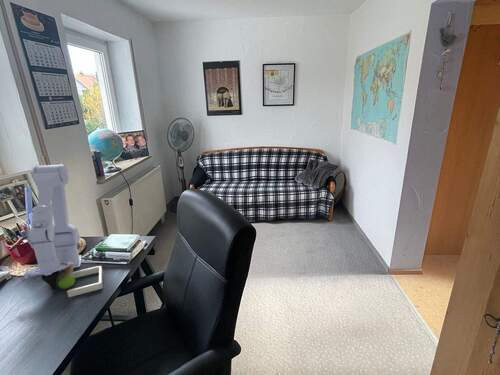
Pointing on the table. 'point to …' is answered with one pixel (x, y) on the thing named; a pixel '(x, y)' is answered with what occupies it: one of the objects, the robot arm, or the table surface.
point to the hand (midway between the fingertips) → (54, 288)
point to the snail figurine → (66, 276)
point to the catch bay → (89, 287)
